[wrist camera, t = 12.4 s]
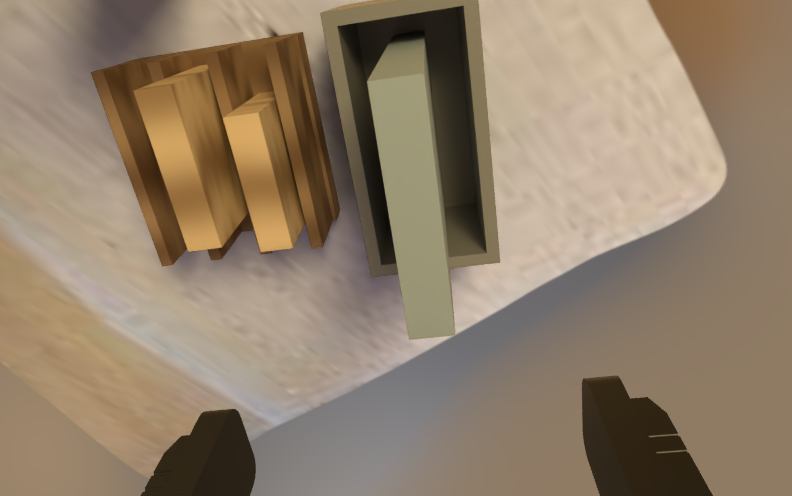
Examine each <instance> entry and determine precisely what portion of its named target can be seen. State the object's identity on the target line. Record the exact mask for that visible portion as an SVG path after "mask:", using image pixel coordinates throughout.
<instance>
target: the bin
mask: <svg viewBox="0 0 792 496" xmlns="http://www.w3.org/2000/svg"><path fill="white" fill-rule="evenodd" d="M320 15H321V20H322V25H323V30H324V36H325V41H326V46H327V51H328V56H329V61H330V66H331V72H332V77H333V82H334V87H335V92H336V97H337V103H338V108H339V113H340V118H341V123H342V128H343V133H344V139H345V144H346V149H347V154H348V159H349V164H350V170H351V175H352V180H353V185H354V190H355V195H356V200H357V206H358V211H359V216H360V221H361V226H362V231H363V237H364V242H365V247H366V252H367V257H368V262H369V267H370V273H371V277H377V276H386V275H395V274H398V268H397V262H396V256H395V250H394V244H393V237H392V231H391V225H390V219H389V213H388V207H387V200H386V194H385V188H384V182H383V176H382V170H381V163H380V157H379V151H378V145H377V139H376V133H375V126H374V120H373V114H372V108H371V102H370V96H369V89H368V83H367V81H368V79H369V77H370V76H371V74H372V72H373V70H374V69H375V67H376V65H377V63H378V61H379V60H380V58H381V56H382V54H383V53H384V51H385V49H386V47H387V46H388V44H389V42H390V40H391V39H392V37H393V35H397V34H404V33H410V32H417V31H424V30H425V39H426V47H427V56H428V65H429V73H430V82H431V91H432V99H433V108H434V116H435V125H436V134H437V142H438V151H439V159H440V168H441V177H442V185H443V195H444V207H445V218H446V230H447V242H448V254H449V265H450V268H457V267H465V266H474V265H483V264H492V263H500V254H499V242H498V230H497V218H496V206H495V194H494V182H493V170H492V158H491V146H490V134H489V122H488V110H487V98H486V86H485V74H484V62H483V50H482V38H481V26H480V14H479V2H478V0H373V1H367V2H361V3H355V4H349V5H344V6H340V7H337V8H334V9H331V10H328V11H325V12H322V13H320Z"/></svg>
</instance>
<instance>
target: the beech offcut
mask: <svg viewBox="0 0 792 496" xmlns="http://www.w3.org/2000/svg"><path fill="white" fill-rule="evenodd" d="M223 120H224V124H225V127H226V131H227V134H228V138H229V141H230V145H231V148H232V152H233V155H234V159H235V163H236V166H237V170H238V173H239V177H240V180H241V184H242V187H243V191H244V194H245V198H246V201H247V205H248V209H249V212H250V216H251V219H252V223H253V226H254V230H255V233H256V237H257V240H258V244H259V248H260V251H261V252H266V251H274V250H282V249H291V248H293V247H294V245H295V243H296V241H297V239H298V237H299V235H300V233H301V231H302V229H303V226H304V224H305V218H304V214H303V209H302V205H301V201H300V197H299V193H298V189H297V184H296V180H295V176H294V172H293V168H292V163H291V159H290V155H289V151H288V147H287V143H286V138H285V134H284V130H283V126H282V122H281V117H280V113H279V109H278V105H277V101H276V96H275V92H274V91H271V92H264V93H258V94H257V95H255V96H254V97H253V98H251V99H250V100H248V101H247V102H245V103H244V104H242V105H241V106H239V107H238V108H236V109H235V110H234V111H232V112H231V113H229V114H228V115H226V116H225V117H223Z"/></svg>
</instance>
